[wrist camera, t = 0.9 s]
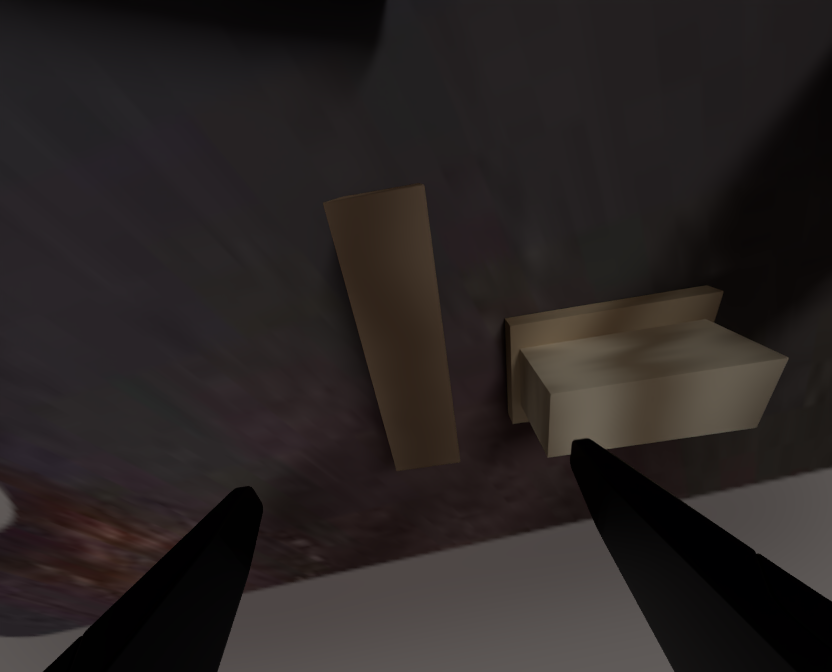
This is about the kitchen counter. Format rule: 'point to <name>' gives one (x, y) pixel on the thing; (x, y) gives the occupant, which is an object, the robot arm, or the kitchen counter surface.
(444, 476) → the kitchen counter surface
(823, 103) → the kitchen counter surface
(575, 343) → the beige stepped block
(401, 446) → the brown wooden bar
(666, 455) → the kitchen counter surface
